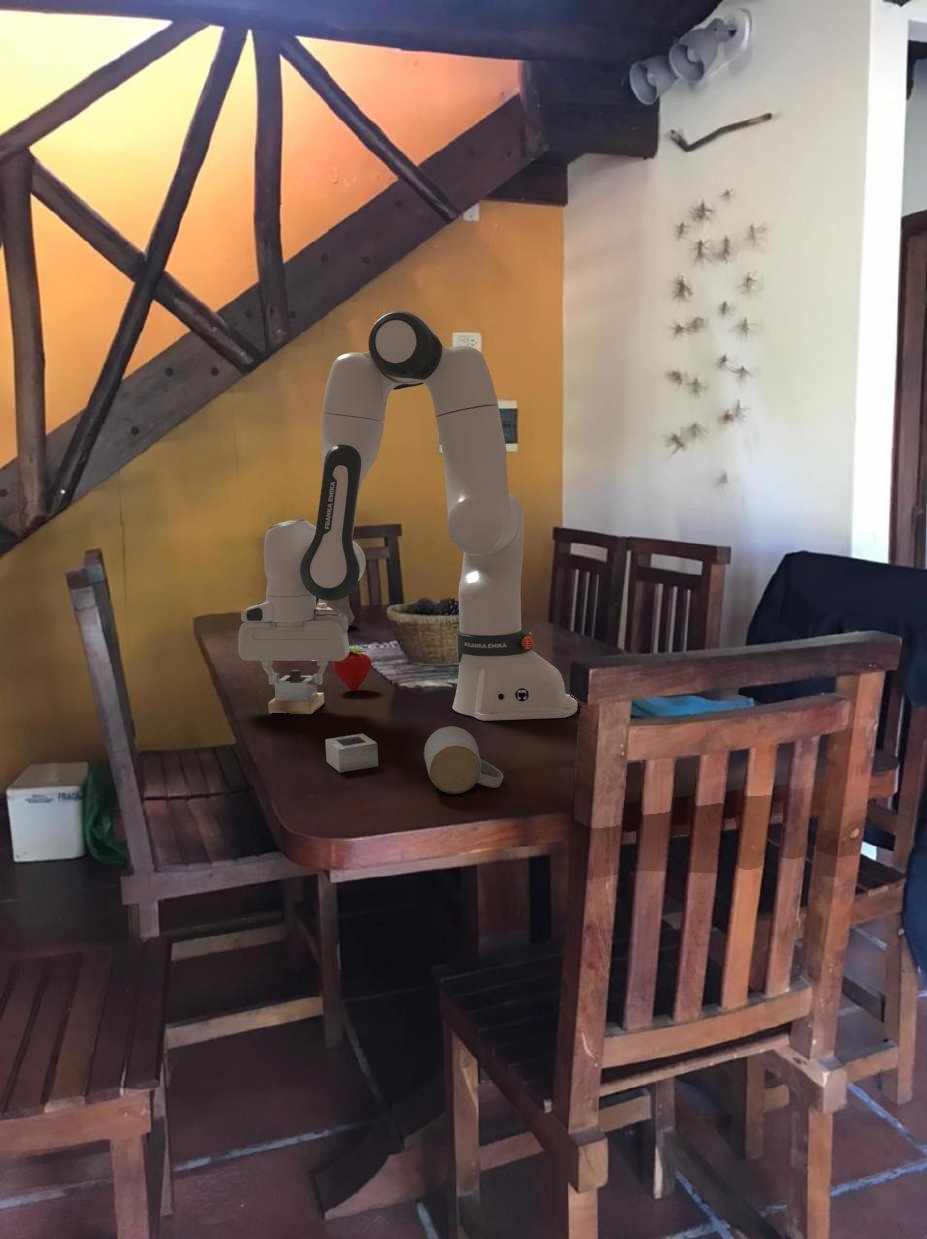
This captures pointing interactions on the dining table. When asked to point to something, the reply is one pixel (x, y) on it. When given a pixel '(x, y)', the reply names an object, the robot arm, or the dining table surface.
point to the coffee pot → (339, 607)
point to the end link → (295, 689)
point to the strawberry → (353, 668)
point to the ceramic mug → (457, 762)
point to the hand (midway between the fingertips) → (296, 683)
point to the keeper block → (296, 706)
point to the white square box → (351, 752)
